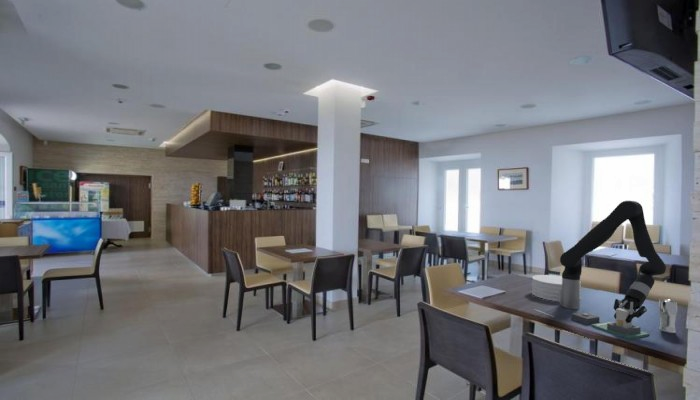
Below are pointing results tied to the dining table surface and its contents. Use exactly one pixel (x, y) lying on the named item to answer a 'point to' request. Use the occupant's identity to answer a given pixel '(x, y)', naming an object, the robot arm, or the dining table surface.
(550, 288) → the plate stack
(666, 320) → the beer glass
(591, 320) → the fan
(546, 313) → the butter knife
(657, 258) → the robot arm
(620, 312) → the plug
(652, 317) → the dining table surface
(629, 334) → the board
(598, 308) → the dining table surface
